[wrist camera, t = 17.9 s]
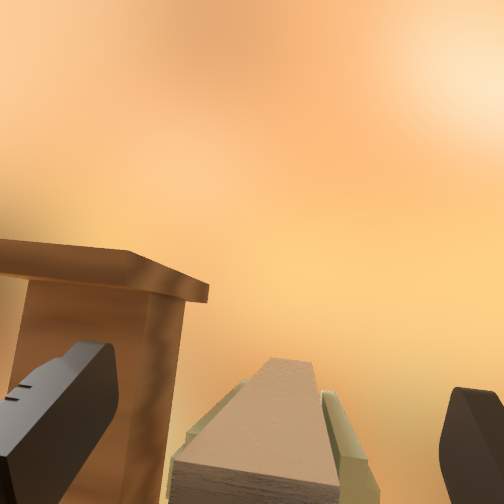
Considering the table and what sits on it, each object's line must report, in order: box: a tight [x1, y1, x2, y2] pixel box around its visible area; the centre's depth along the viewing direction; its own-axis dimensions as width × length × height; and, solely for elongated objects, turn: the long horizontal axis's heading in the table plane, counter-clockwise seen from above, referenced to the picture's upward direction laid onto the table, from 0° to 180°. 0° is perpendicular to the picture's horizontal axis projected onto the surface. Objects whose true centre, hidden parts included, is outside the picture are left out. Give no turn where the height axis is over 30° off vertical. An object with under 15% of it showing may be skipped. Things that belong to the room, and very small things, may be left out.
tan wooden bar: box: [168, 358, 340, 504], centre depth 19 cm, size 24×3×3 cm, turn 173°
